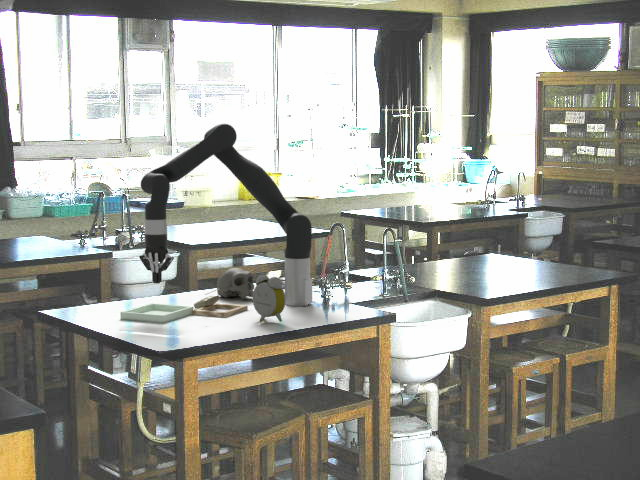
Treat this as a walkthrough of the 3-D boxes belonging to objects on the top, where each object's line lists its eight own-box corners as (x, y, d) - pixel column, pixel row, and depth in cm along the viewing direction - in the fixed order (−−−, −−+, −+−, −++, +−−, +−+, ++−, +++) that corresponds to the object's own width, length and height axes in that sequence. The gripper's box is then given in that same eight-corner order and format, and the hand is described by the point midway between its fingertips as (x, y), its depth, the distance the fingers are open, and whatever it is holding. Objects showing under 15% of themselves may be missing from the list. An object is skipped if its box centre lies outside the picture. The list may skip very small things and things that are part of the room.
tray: (193, 313, 360) (193, 306, 360) (163, 323, 343) (163, 315, 343) (151, 310, 367) (151, 303, 367) (120, 319, 350) (120, 311, 350)
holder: (247, 309, 368) (247, 305, 368) (225, 317, 354) (225, 312, 353) (215, 307, 373) (215, 303, 373) (192, 314, 359) (192, 310, 359)
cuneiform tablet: (206, 293, 361) (189, 299, 370) (211, 305, 361) (194, 311, 370) (222, 287, 365) (205, 292, 374) (227, 299, 365) (209, 304, 374)
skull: (241, 303, 383) (241, 271, 382) (210, 297, 396) (210, 267, 394) (264, 299, 391) (264, 268, 390) (233, 294, 404) (233, 264, 403)
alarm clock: (286, 321, 345) (286, 277, 344) (271, 324, 341) (271, 279, 339) (263, 317, 354) (263, 273, 352) (248, 319, 349) (247, 275, 347)
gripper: (178, 232, 353) (179, 282, 355) (145, 230, 358) (146, 280, 360) (166, 234, 346) (167, 285, 348) (133, 232, 351) (134, 283, 353)
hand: (156, 283), depth 354 cm, fingers closed
